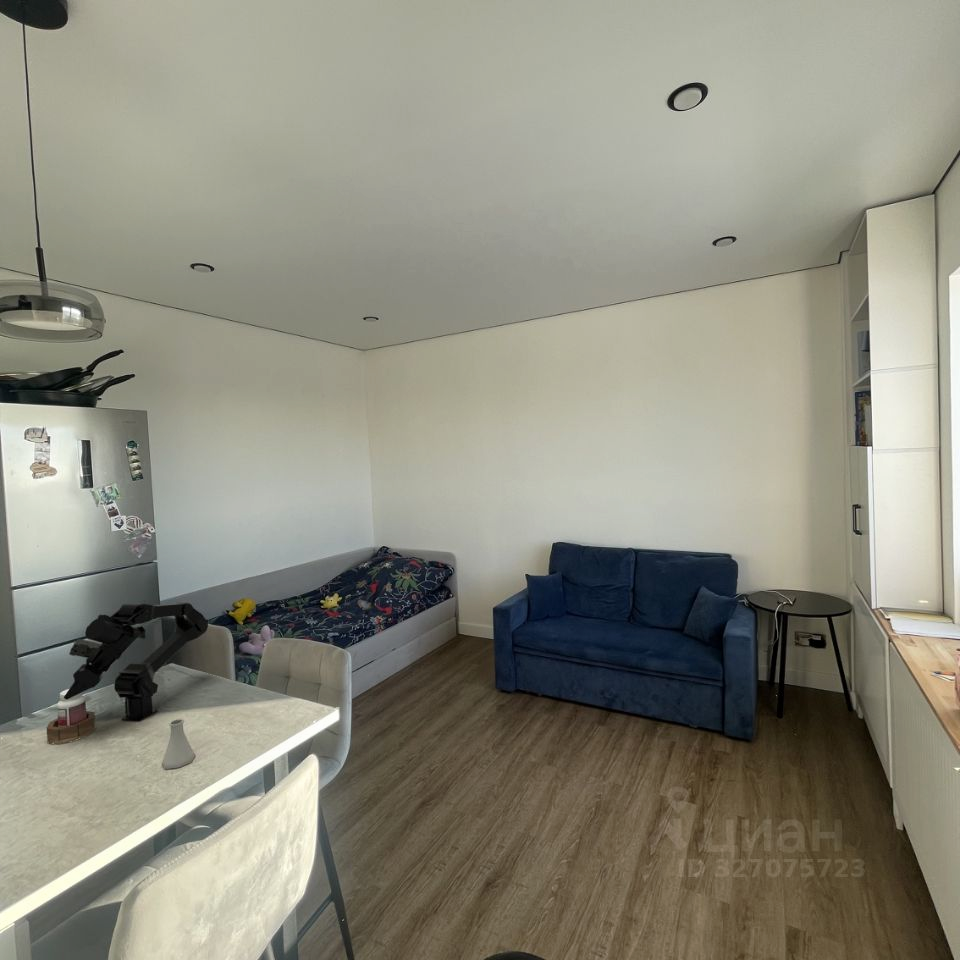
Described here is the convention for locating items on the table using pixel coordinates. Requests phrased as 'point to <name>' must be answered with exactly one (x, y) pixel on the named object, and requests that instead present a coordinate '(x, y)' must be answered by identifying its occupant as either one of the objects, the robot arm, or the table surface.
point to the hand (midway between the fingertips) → (70, 692)
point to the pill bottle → (71, 710)
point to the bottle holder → (70, 730)
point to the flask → (177, 747)
